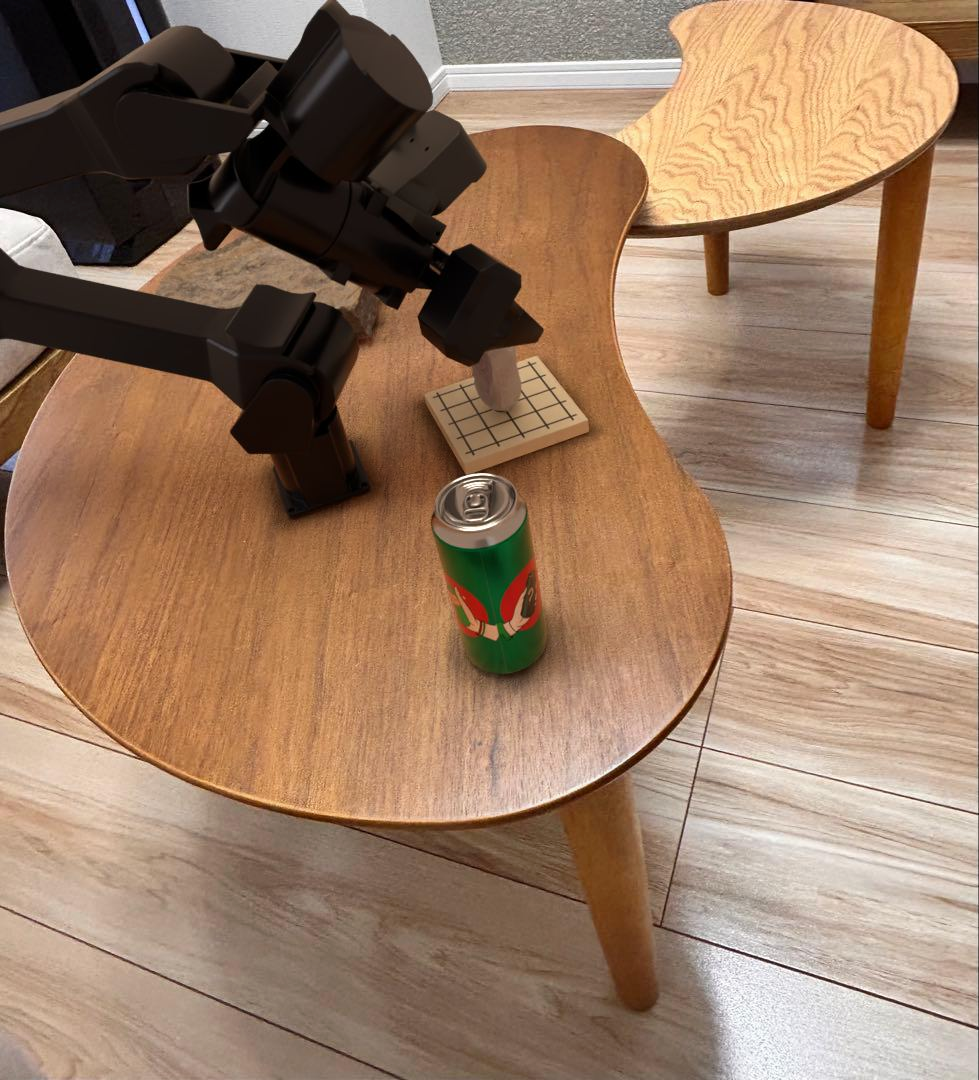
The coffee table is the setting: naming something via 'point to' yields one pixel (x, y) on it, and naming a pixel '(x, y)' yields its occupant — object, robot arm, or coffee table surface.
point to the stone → (263, 280)
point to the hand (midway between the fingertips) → (505, 309)
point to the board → (505, 419)
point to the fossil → (498, 379)
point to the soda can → (490, 571)
